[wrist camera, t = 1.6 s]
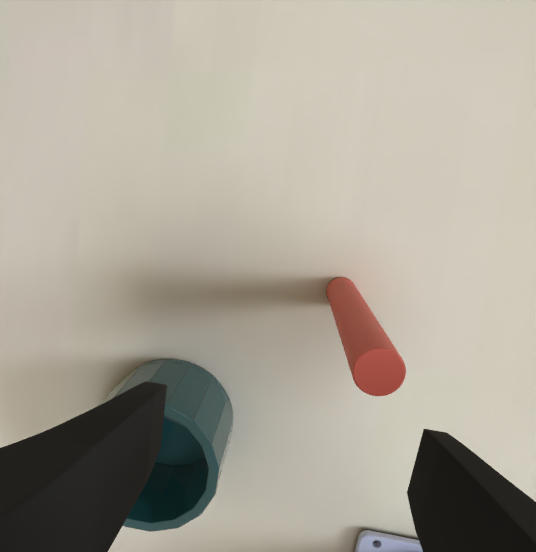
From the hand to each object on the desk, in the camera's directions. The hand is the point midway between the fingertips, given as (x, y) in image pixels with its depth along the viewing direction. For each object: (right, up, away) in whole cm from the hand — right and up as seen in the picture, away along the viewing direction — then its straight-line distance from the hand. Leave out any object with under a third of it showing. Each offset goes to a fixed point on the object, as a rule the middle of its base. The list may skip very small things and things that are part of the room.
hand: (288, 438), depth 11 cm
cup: (-6, -4, +12) cm, 14 cm away
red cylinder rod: (+3, +4, +10) cm, 11 cm away
